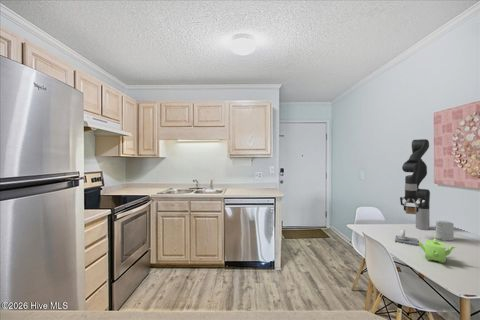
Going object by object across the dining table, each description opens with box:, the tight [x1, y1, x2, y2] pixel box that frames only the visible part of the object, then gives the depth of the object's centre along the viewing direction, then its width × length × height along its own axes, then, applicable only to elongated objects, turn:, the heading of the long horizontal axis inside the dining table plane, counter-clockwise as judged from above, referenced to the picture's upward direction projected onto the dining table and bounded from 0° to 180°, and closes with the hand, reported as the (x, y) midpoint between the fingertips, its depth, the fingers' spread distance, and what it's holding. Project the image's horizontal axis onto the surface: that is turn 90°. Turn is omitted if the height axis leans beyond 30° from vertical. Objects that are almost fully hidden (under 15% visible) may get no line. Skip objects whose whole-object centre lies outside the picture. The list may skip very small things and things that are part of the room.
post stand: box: [394, 228, 419, 247], centre depth 171 cm, size 13×13×8 cm
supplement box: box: [435, 220, 455, 241], centre depth 174 cm, size 7×7×13 cm
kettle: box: [418, 238, 456, 264], centre depth 141 cm, size 15×14×11 cm
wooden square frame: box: [405, 205, 416, 215], centre depth 178 cm, size 6×6×4 cm
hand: (410, 211), depth 178 cm, fingers closed on wooden square frame, 6 cm apart
